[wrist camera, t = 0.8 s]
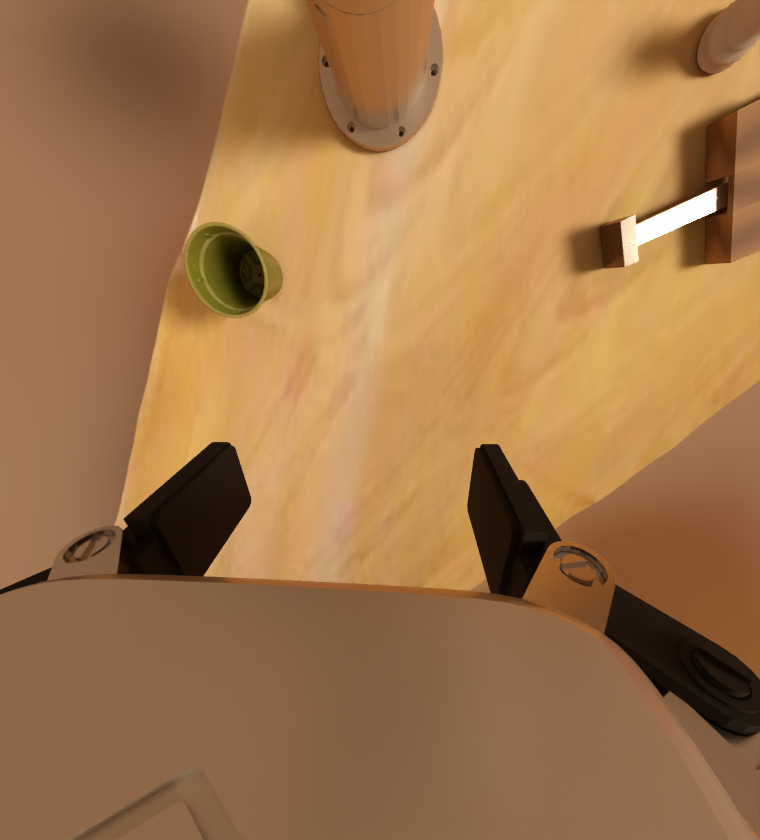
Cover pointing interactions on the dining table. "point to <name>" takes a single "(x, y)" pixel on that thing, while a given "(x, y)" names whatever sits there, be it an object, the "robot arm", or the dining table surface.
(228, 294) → the plant pot
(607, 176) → the dining table surface
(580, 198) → the dining table surface
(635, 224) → the lock pin
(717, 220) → the mount
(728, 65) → the rook chess piece
